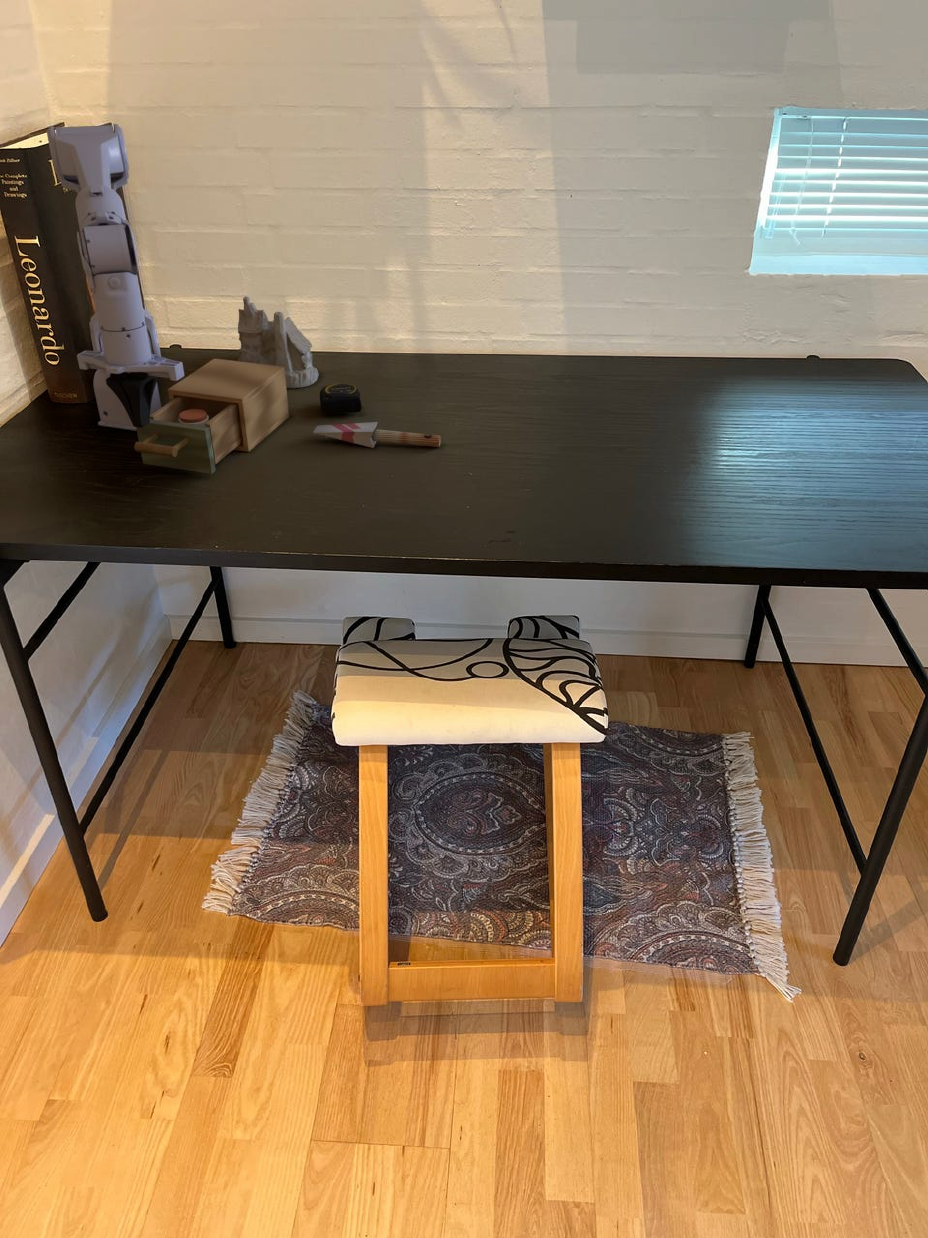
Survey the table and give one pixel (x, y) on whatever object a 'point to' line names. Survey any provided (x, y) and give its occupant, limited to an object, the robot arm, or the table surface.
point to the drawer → (190, 435)
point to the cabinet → (241, 394)
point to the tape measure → (340, 399)
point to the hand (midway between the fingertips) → (141, 424)
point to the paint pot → (194, 417)
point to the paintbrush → (374, 435)
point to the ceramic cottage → (275, 345)
